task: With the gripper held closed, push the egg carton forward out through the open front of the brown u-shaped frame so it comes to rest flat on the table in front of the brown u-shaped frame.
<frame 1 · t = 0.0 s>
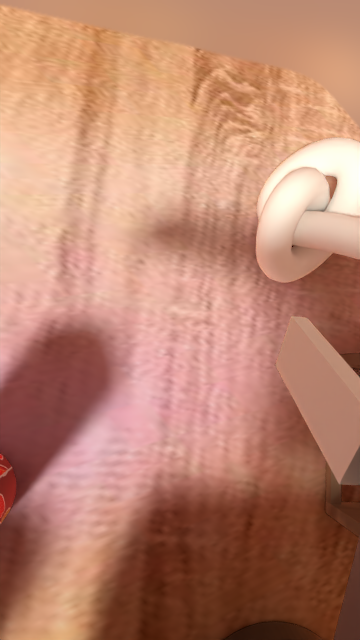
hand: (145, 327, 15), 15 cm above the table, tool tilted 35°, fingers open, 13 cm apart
white knot sculpture: (285, 242, 34), on the table
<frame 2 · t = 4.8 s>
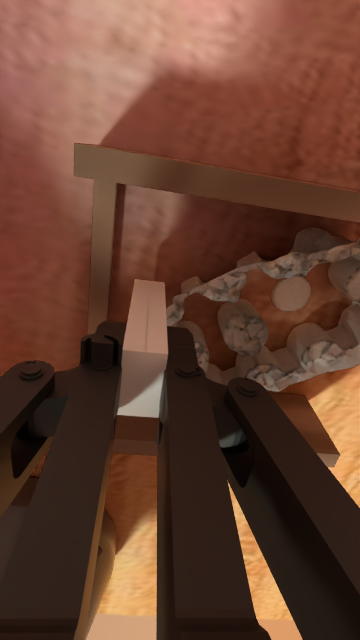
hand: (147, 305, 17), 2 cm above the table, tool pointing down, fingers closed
brown u-shaped frame: (224, 303, 19), on the table
egg carton: (262, 304, 20), on the table
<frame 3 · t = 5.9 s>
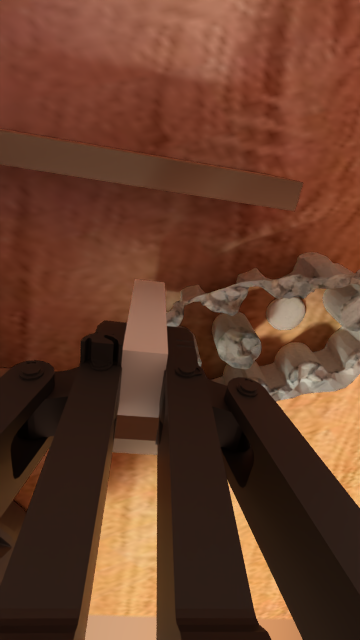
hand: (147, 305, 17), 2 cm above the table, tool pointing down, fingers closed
brown u-shaped frame: (110, 288, 19), on the table
egg carton: (257, 320, 21), on the table, touching gripper
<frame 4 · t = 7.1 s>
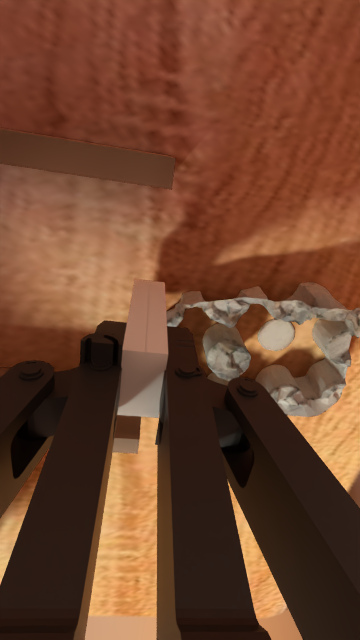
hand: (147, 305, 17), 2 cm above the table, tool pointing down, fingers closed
brown u-shaped frame: (23, 278, 18), on the table
egg carton: (247, 336, 21), on the table, touching gripper
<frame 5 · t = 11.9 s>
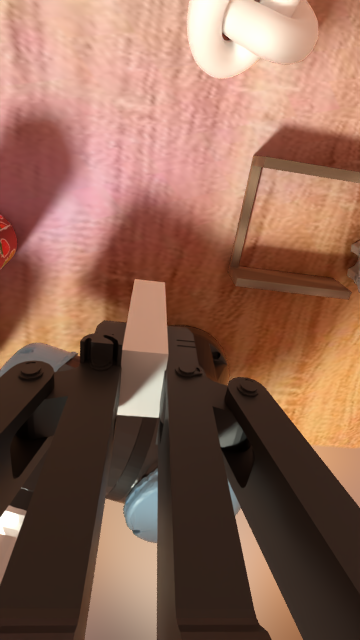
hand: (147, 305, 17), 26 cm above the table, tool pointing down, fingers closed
brown u-shaped frame: (297, 226, 42), on the table
white knot sculpture: (235, 25, 33), on the table
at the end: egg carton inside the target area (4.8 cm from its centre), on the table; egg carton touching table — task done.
